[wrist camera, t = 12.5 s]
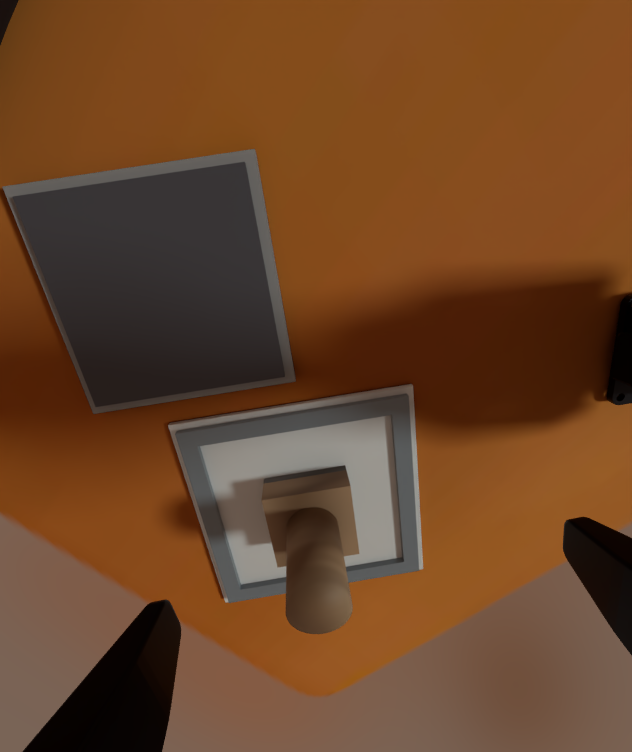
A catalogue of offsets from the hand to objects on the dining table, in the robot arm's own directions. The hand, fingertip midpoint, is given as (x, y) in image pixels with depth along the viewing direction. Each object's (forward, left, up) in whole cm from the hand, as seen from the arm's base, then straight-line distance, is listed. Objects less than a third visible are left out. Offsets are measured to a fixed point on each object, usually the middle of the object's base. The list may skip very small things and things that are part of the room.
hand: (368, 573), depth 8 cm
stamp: (+2, +8, -13) cm, 15 cm away
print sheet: (+2, +8, -13) cm, 15 cm away
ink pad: (+7, -6, -13) cm, 16 cm away
